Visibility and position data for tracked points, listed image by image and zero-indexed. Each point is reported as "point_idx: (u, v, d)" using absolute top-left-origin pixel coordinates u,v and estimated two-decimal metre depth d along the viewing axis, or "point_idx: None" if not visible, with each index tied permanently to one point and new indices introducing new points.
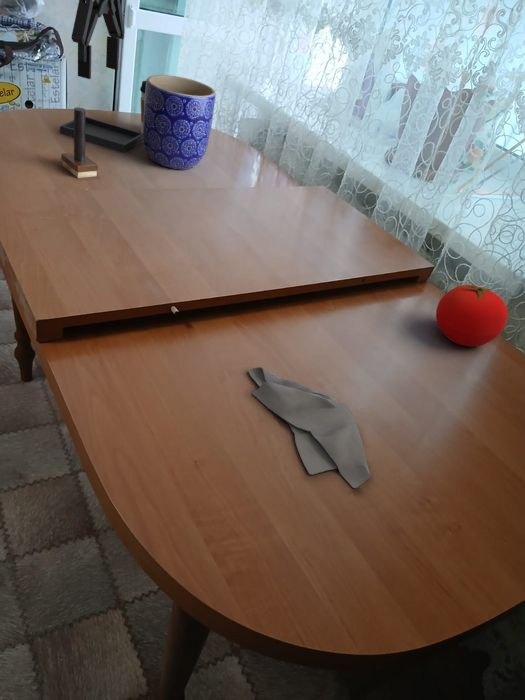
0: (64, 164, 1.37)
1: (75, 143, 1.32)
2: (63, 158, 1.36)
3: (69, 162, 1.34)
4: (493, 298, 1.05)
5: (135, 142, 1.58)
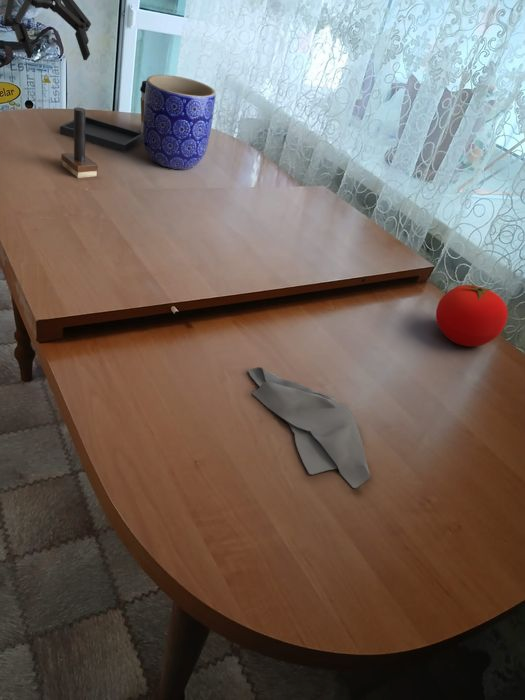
0: (64, 164, 1.37)
1: (75, 143, 1.32)
2: (63, 158, 1.36)
3: (69, 162, 1.34)
4: (493, 298, 1.05)
5: (135, 142, 1.58)
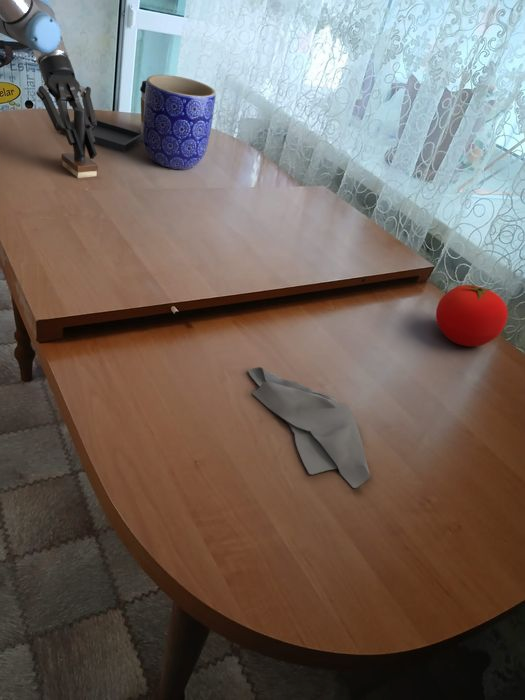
0: (64, 164, 1.37)
1: None
2: (63, 158, 1.36)
3: (69, 162, 1.34)
4: (493, 298, 1.05)
5: (135, 142, 1.58)
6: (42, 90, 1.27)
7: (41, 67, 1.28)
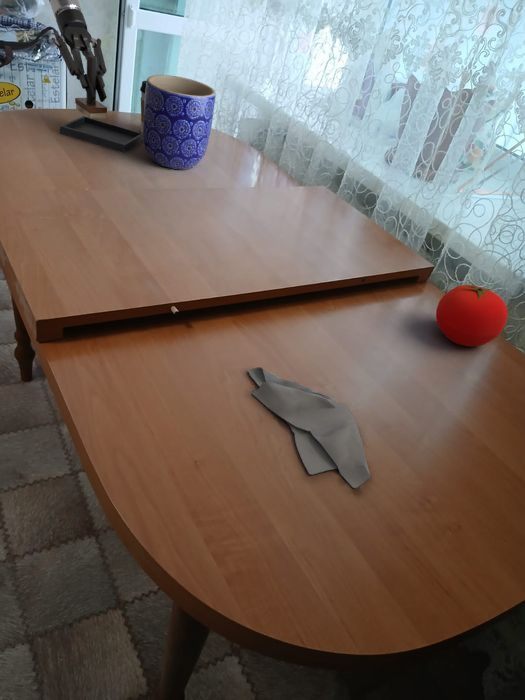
0: (77, 107, 1.56)
1: None
2: (77, 102, 1.55)
3: (82, 104, 1.53)
4: (493, 298, 1.05)
5: (135, 142, 1.58)
6: (59, 39, 1.45)
7: (58, 19, 1.47)
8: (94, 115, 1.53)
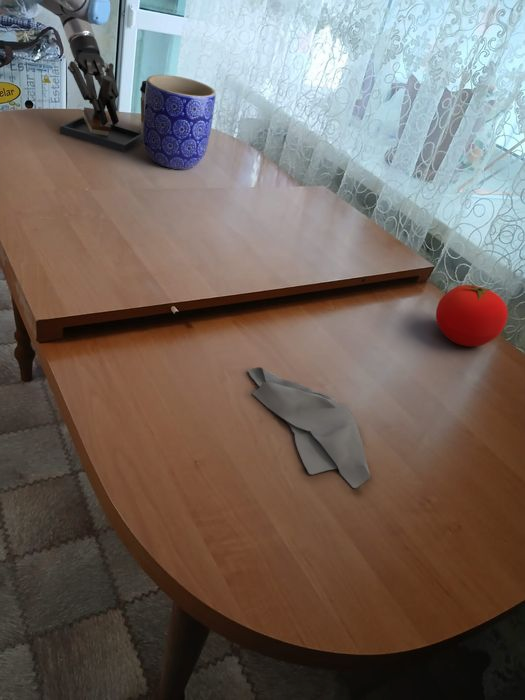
0: (84, 116, 1.59)
1: None
2: (84, 112, 1.58)
3: (88, 117, 1.56)
4: (493, 298, 1.05)
5: (135, 142, 1.58)
6: (73, 65, 1.48)
7: (72, 45, 1.50)
8: (96, 131, 1.56)
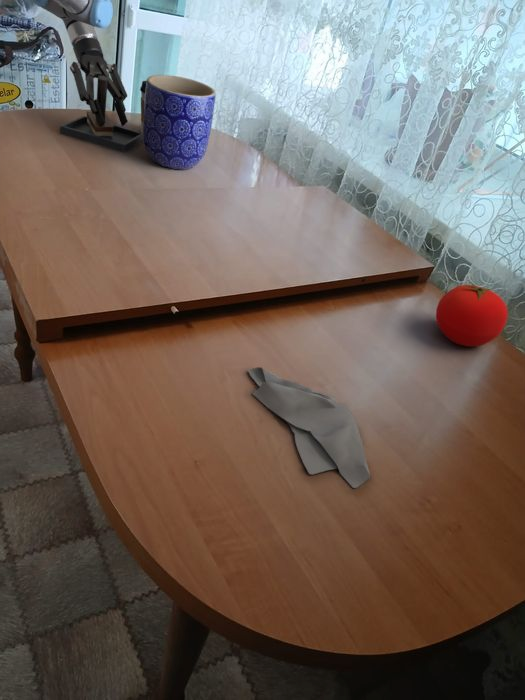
0: (88, 121, 1.60)
1: None
2: (87, 116, 1.59)
3: (91, 121, 1.57)
4: (493, 298, 1.05)
5: (135, 142, 1.58)
6: (75, 65, 1.48)
7: (75, 48, 1.50)
8: (100, 133, 1.57)
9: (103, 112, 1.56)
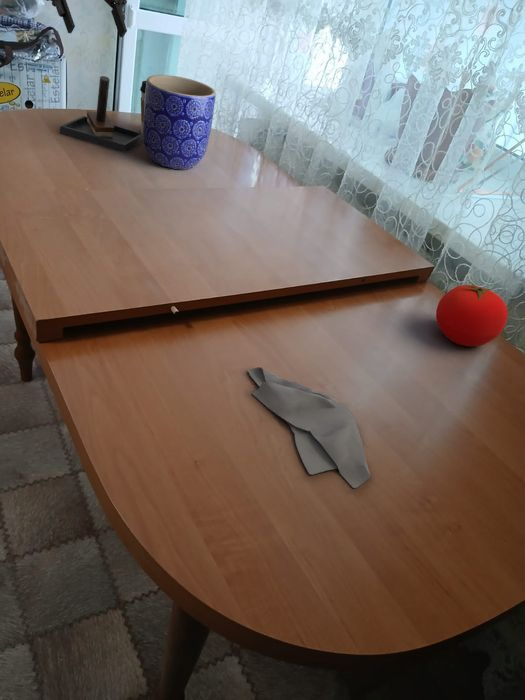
0: (88, 120, 1.60)
1: (98, 106, 1.54)
2: (88, 115, 1.59)
3: (91, 121, 1.57)
4: (493, 298, 1.05)
5: (135, 142, 1.58)
6: None
7: None
8: (100, 133, 1.57)
9: (104, 112, 1.56)
